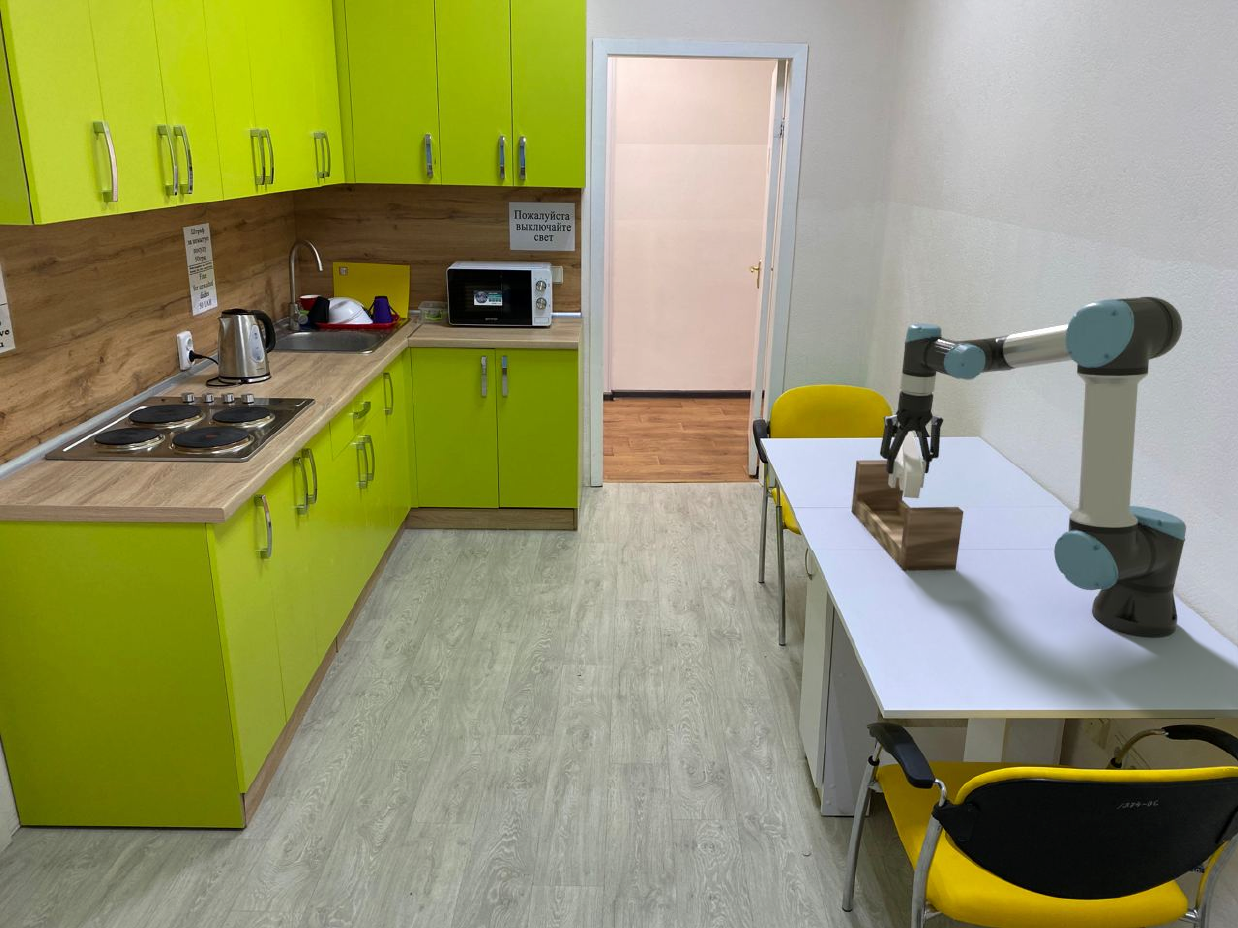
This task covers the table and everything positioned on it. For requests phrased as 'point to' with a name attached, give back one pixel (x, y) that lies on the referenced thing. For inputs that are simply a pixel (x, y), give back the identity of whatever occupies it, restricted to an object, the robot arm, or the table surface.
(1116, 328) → the robot arm
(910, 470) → the shelf bracket
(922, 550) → the cradle
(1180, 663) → the table surface
